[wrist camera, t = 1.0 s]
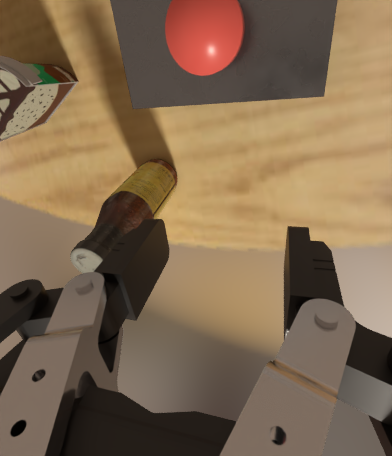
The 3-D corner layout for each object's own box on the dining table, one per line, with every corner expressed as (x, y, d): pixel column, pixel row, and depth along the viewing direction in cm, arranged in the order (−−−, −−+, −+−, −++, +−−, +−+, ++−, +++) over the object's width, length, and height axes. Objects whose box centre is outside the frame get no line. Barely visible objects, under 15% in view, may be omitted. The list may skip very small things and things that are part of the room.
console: (336, -64, 24) (349, -90, 19) (317, 87, 31) (323, 96, 26) (132, -22, 29) (103, -34, 25) (152, 100, 36) (132, 108, 31)
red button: (250, -13, 24) (241, -30, 18) (250, 66, 27) (242, 72, 22) (185, -2, 26) (159, -14, 20) (192, 71, 29) (171, 78, 23)
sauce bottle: (139, 155, 41) (48, 227, 25) (178, 159, 40) (109, 238, 24) (143, 194, 45) (66, 278, 29) (180, 199, 43) (120, 290, 27)
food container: (49, 29, 34) (-22, 25, 26) (84, 73, 36) (28, 82, 28) (9, 93, 41) (-57, 106, 33) (41, 128, 43) (-14, 148, 35)
